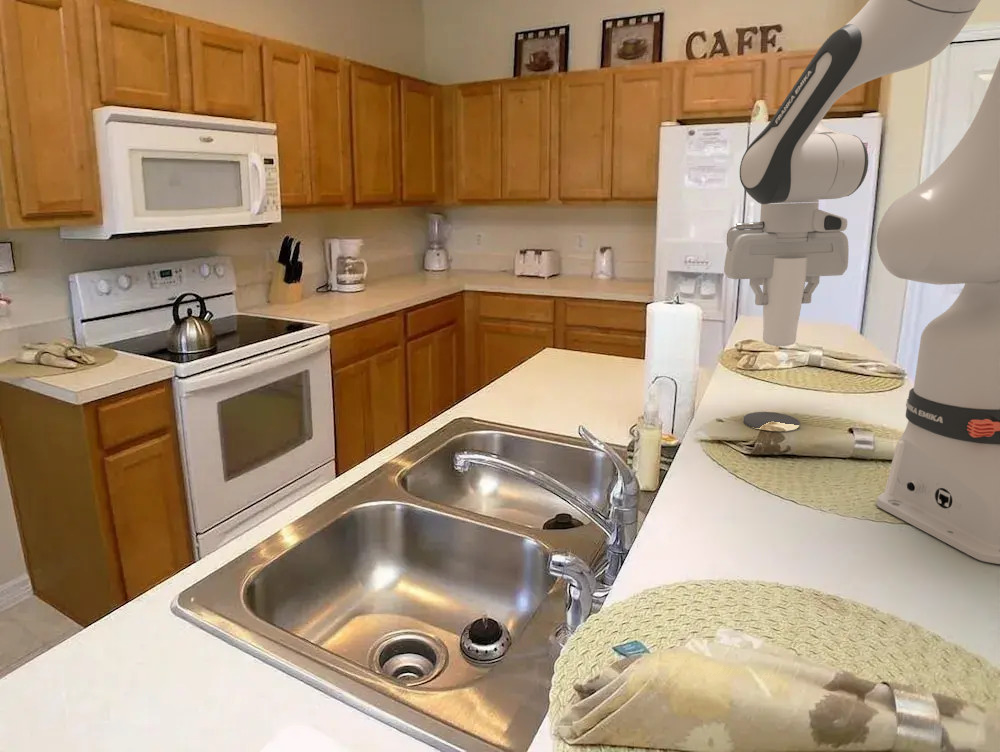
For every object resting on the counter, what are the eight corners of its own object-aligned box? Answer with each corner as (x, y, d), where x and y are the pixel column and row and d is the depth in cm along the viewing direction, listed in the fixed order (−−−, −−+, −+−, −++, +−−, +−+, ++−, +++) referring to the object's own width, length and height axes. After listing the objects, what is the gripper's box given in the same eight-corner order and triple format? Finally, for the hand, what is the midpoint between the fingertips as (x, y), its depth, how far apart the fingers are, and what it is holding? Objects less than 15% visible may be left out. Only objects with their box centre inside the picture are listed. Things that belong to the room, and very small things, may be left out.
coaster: (810, 430, 114) (810, 427, 114) (757, 433, 113) (757, 430, 113) (783, 413, 122) (783, 410, 122) (734, 416, 122) (734, 413, 121)
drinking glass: (803, 348, 115) (811, 258, 111) (760, 347, 117) (767, 258, 113) (796, 339, 122) (803, 254, 118) (755, 338, 123) (761, 254, 119)
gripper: (735, 223, 110) (731, 308, 114) (857, 219, 112) (849, 304, 115) (720, 222, 116) (716, 304, 120) (835, 219, 118) (829, 299, 121)
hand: (782, 304), depth 117 cm, fingers closed on drinking glass, 6 cm apart
